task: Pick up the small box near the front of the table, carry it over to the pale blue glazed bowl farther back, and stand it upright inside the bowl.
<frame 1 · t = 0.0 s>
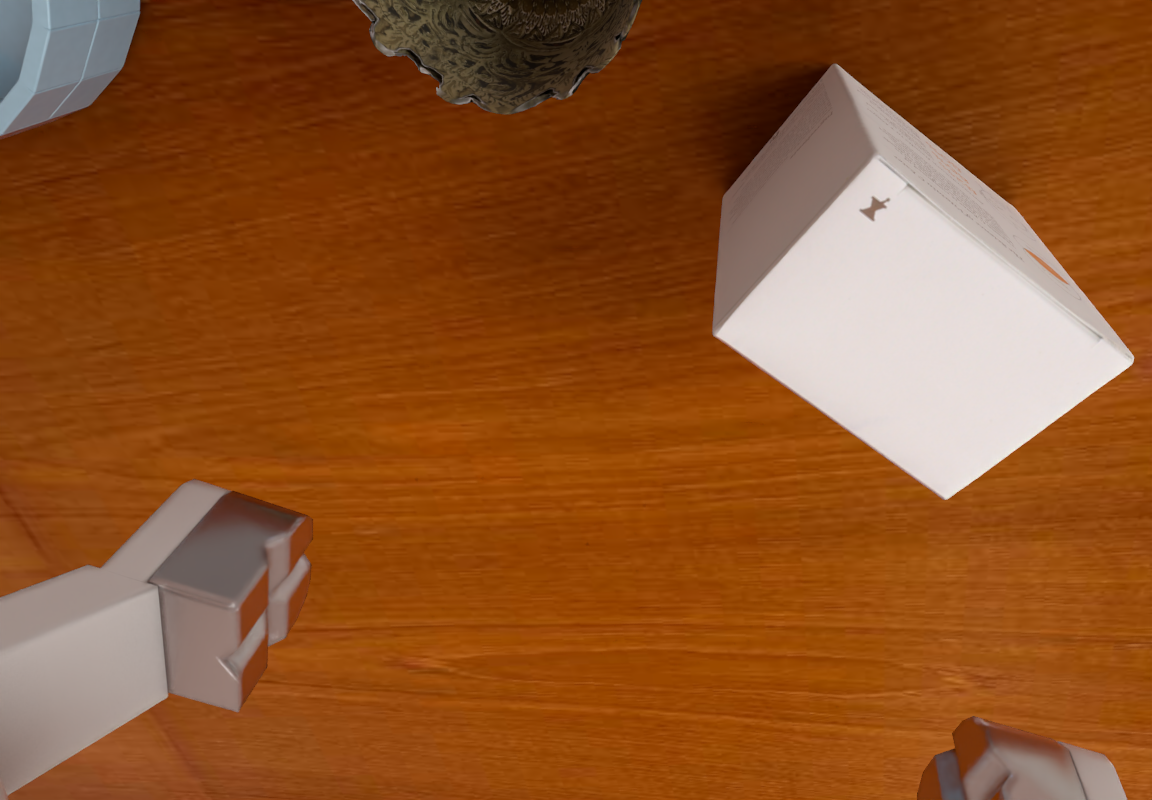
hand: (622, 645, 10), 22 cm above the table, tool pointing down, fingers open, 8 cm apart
small box: (865, 200, 28), on the table
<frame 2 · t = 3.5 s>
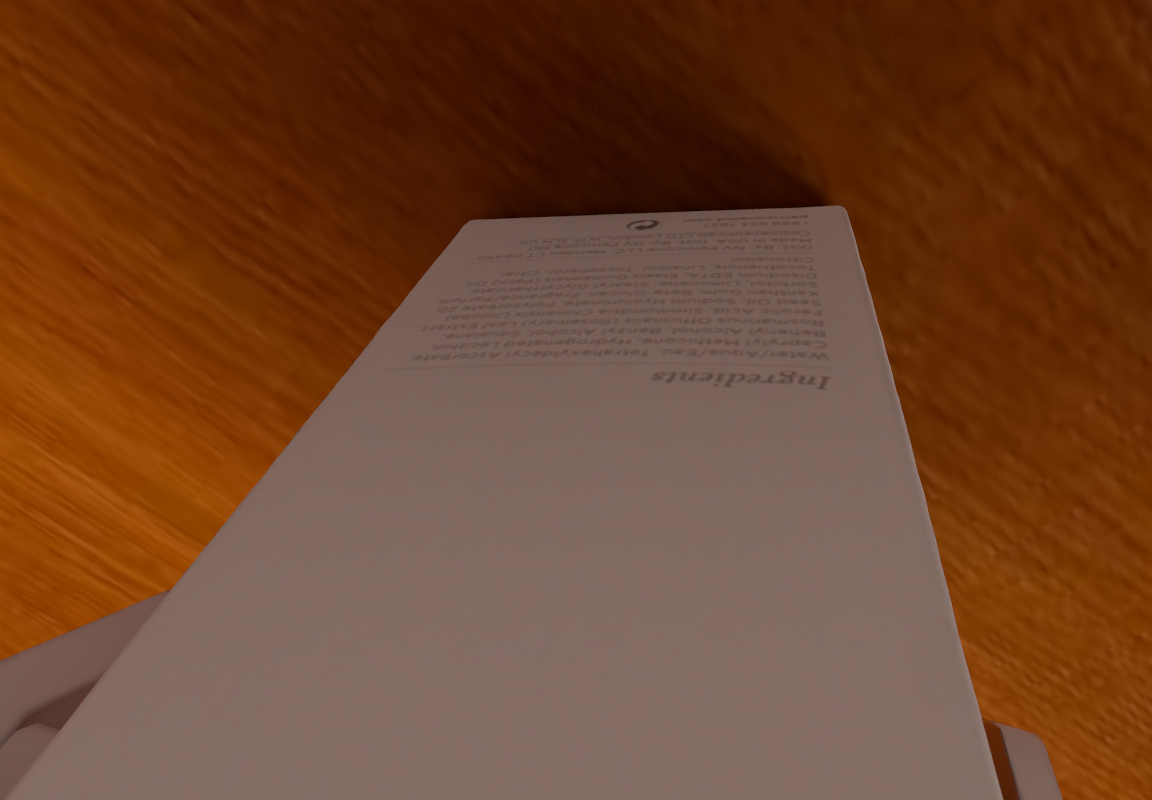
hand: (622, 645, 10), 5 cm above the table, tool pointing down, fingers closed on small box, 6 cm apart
small box: (665, 426, 14), on the table, touching gripper
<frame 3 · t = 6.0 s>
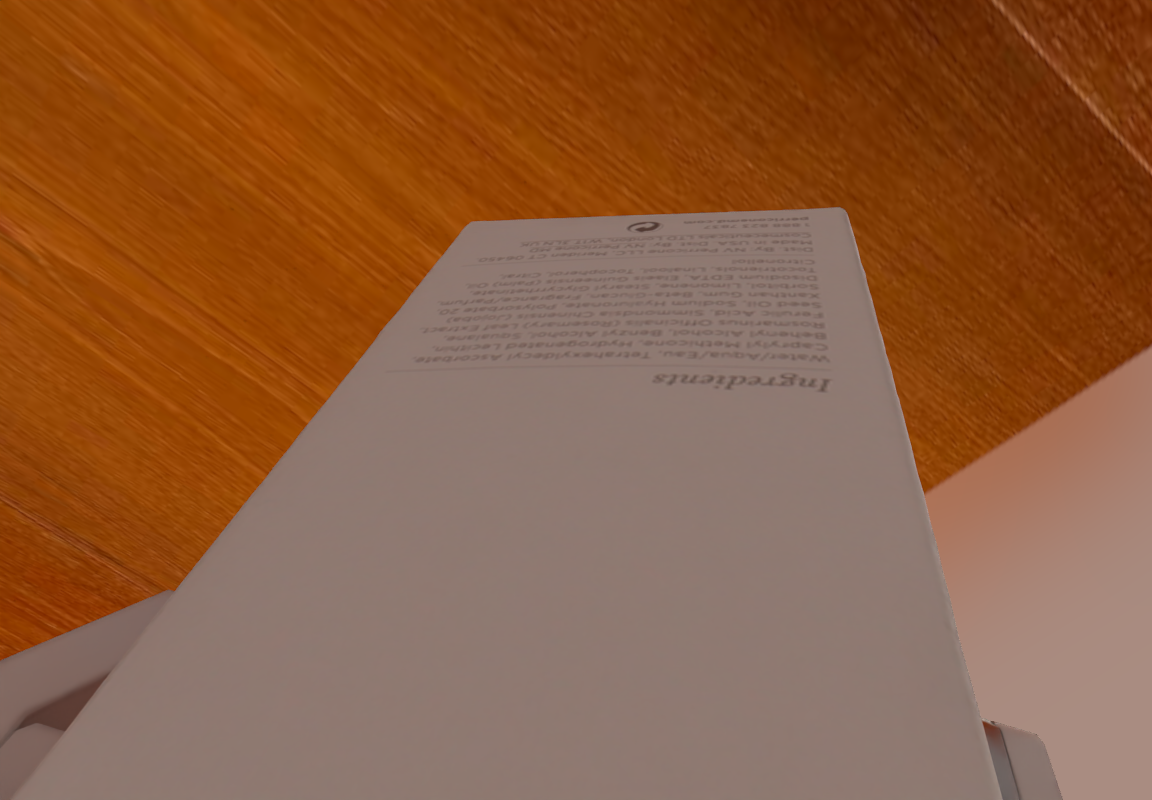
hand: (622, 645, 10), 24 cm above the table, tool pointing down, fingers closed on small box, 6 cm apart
small box: (666, 427, 14), point 19 cm above the table, touching gripper
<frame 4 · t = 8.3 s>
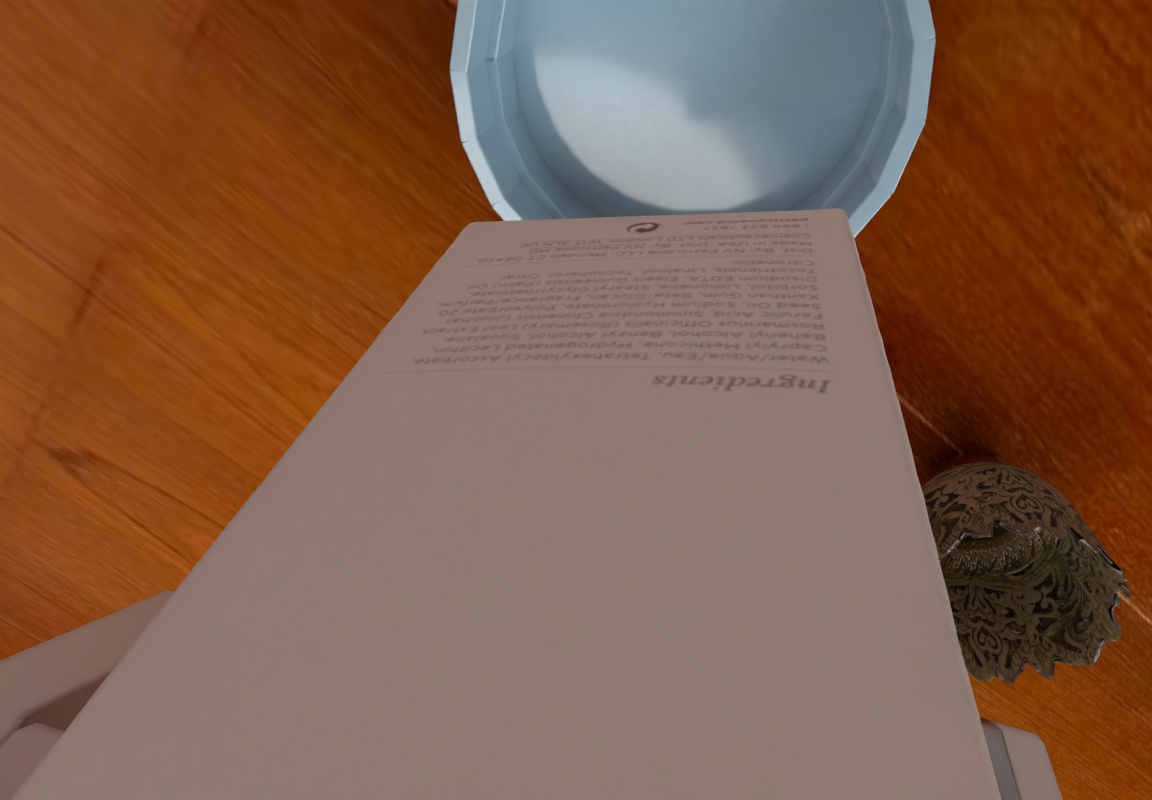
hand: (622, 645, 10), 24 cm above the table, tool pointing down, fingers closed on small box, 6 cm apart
small box: (666, 428, 14), point 20 cm above the table, touching gripper
cup: (966, 477, 36), on the table
bowl: (690, 64, 29), on the table
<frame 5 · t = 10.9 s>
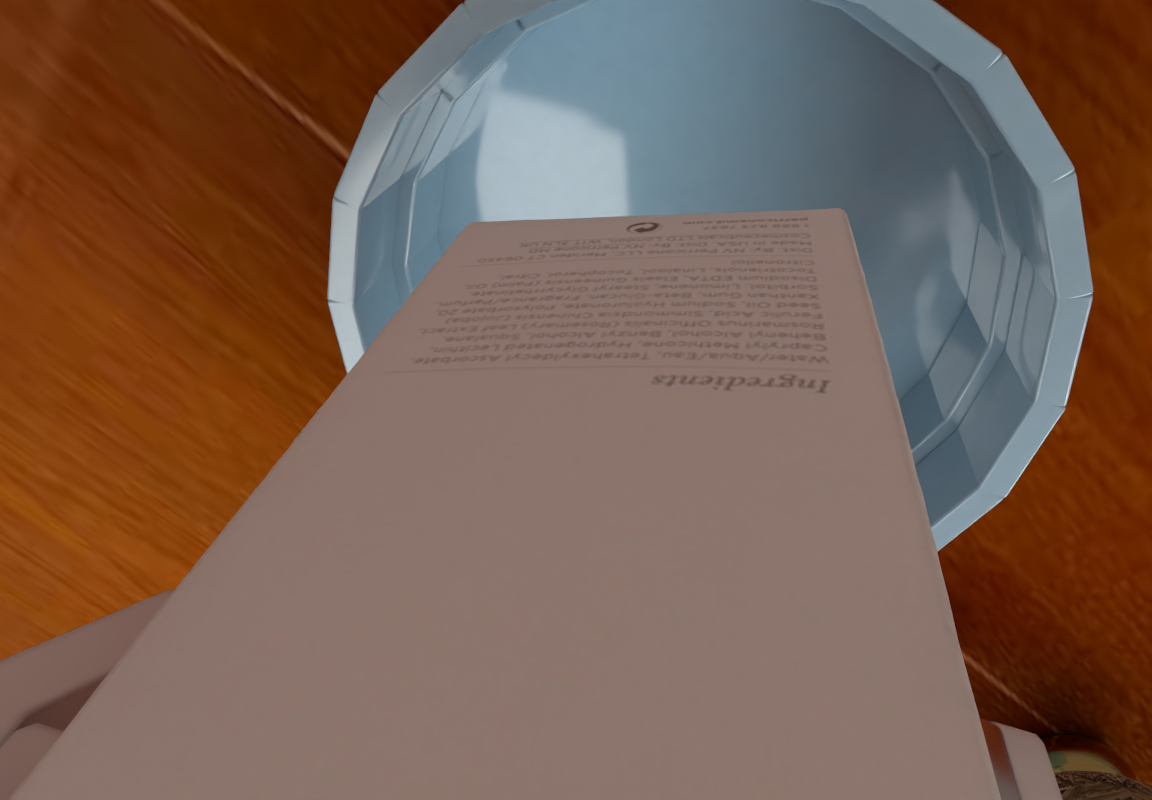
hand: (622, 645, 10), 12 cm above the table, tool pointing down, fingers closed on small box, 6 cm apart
small box: (665, 428, 14), point 8 cm above the table, touching gripper
cup: (1060, 756, 27), on the table
bowl: (693, 255, 20), on the table
when the fingers open (5 cm above the table, at t = 13.2 s): small box stays where it is, resting on bowl.
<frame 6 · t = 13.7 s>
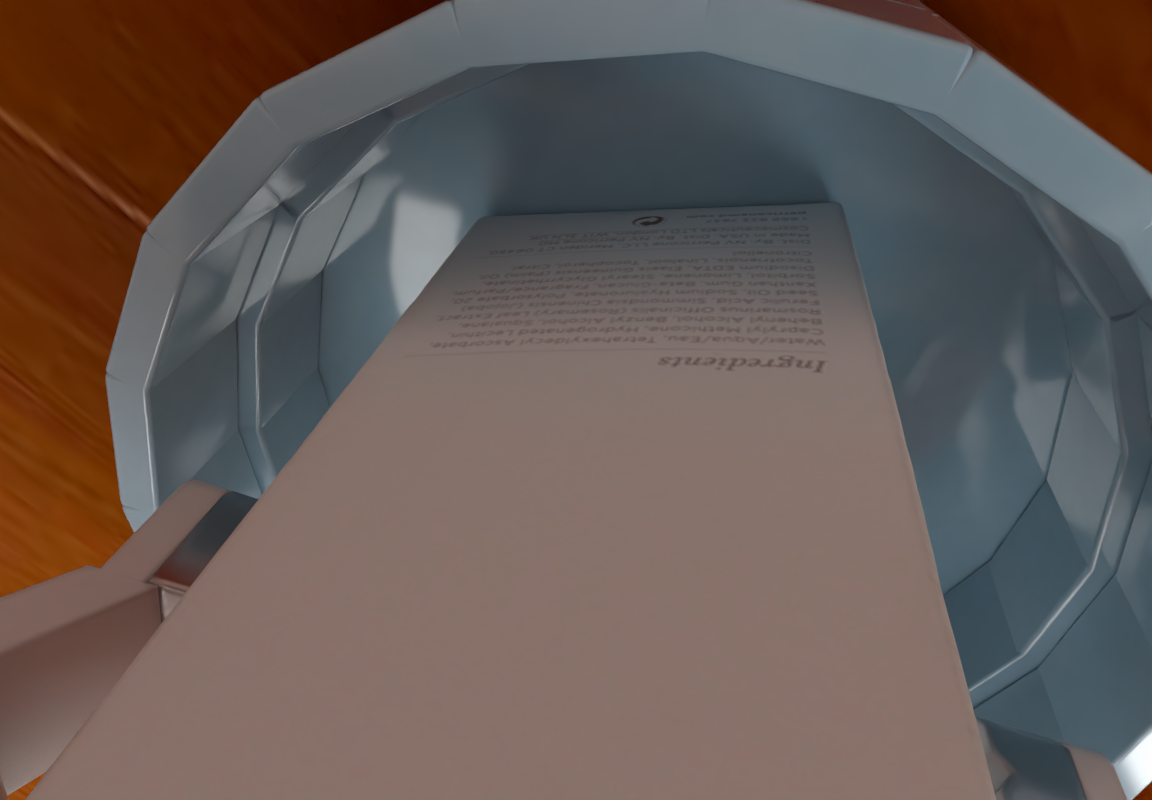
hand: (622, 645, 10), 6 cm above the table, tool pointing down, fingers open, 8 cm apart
small box: (669, 417, 15), resting on bowl
bowl: (665, 399, 15), on the table
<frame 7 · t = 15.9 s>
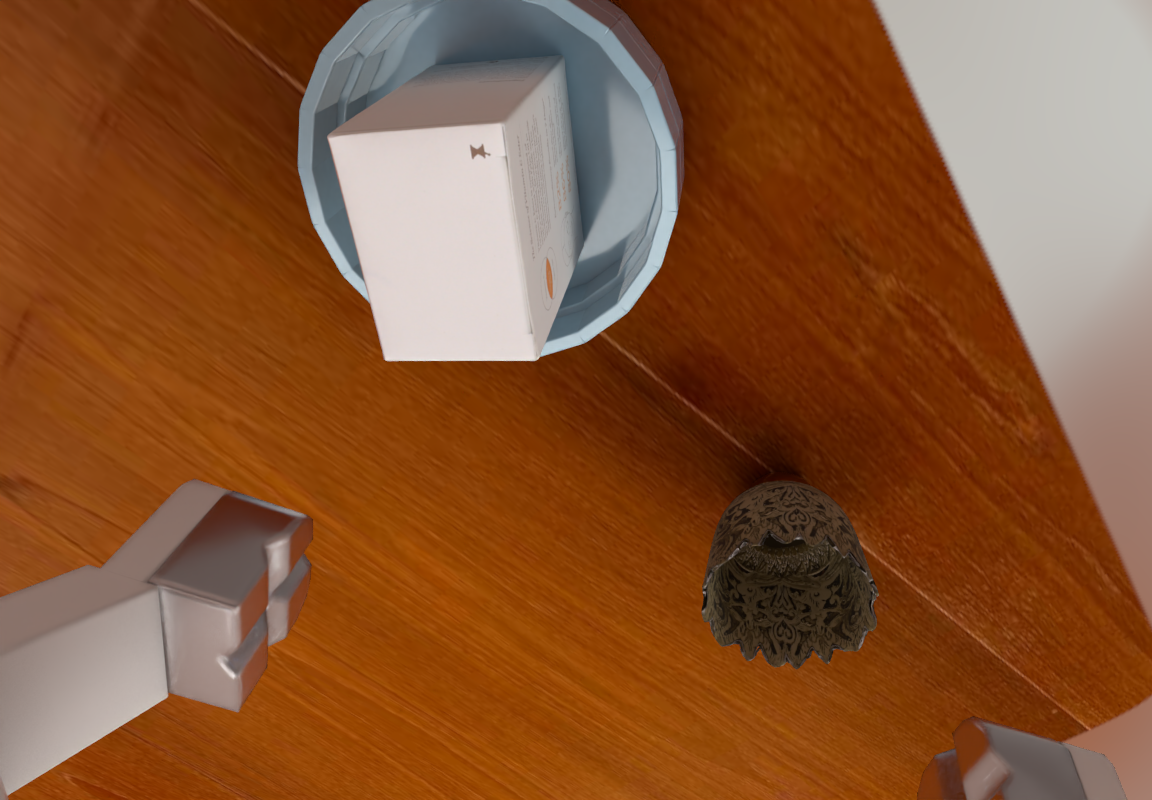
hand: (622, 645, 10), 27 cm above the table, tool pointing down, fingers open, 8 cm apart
small box: (513, 158, 35), resting on bowl
cup: (780, 492, 42), on the table
bowl: (513, 152, 35), on the table
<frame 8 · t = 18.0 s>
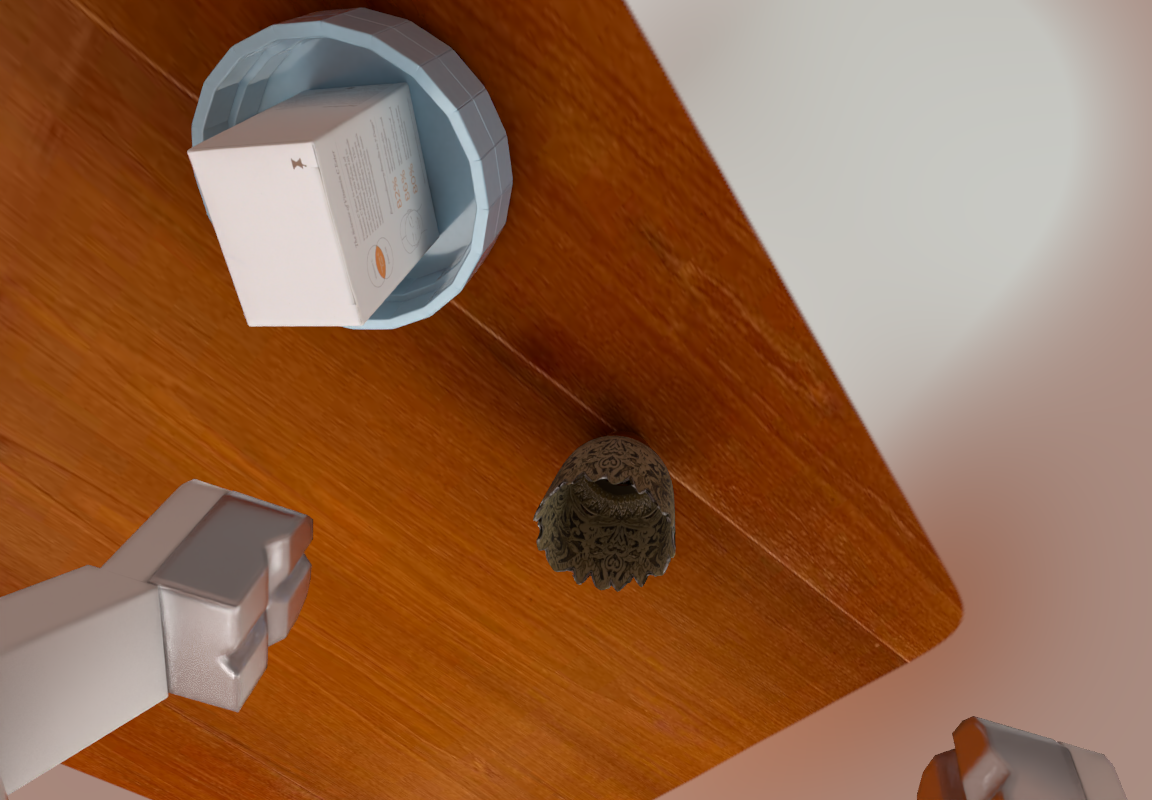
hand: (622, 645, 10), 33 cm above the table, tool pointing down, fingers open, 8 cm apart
small box: (378, 165, 42), resting on bowl
cup: (625, 449, 50), on the table
bowl: (378, 160, 43), on the table
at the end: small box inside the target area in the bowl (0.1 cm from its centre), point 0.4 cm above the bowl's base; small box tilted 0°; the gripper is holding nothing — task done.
